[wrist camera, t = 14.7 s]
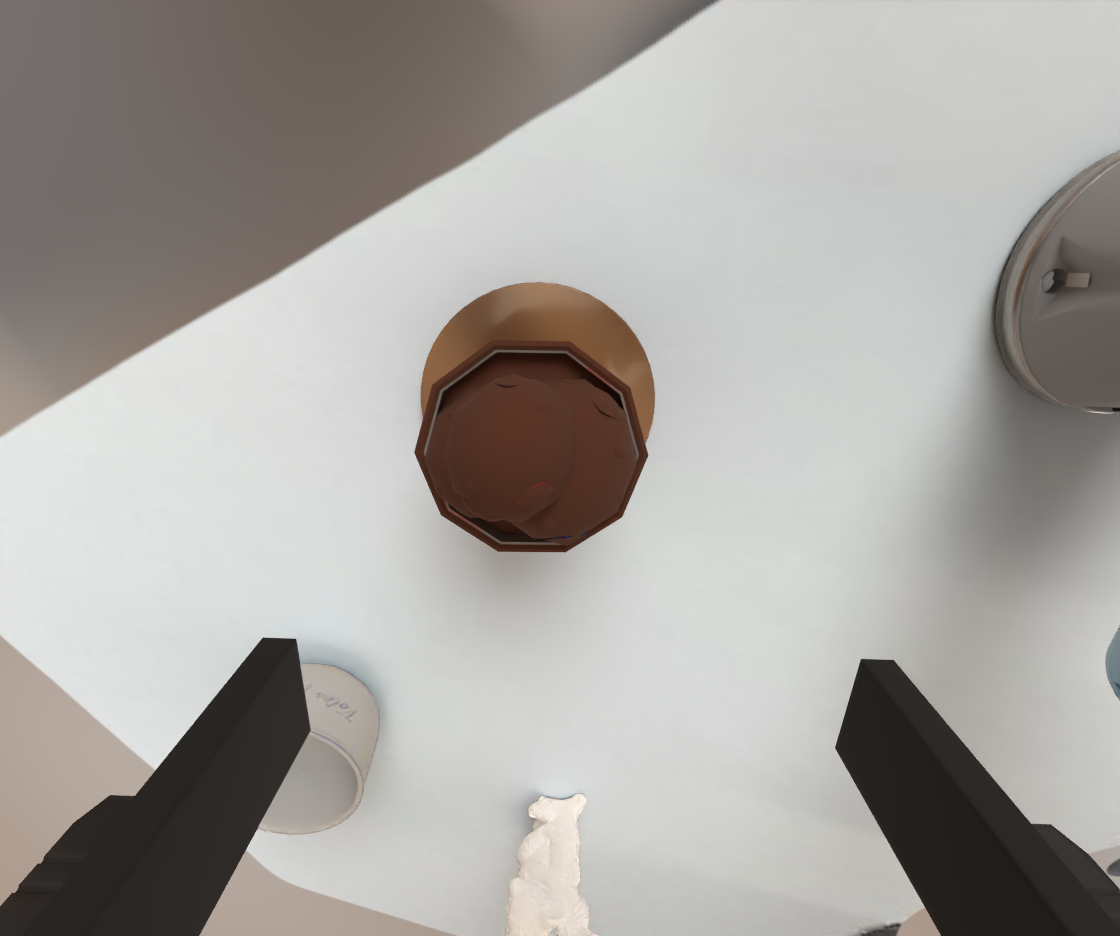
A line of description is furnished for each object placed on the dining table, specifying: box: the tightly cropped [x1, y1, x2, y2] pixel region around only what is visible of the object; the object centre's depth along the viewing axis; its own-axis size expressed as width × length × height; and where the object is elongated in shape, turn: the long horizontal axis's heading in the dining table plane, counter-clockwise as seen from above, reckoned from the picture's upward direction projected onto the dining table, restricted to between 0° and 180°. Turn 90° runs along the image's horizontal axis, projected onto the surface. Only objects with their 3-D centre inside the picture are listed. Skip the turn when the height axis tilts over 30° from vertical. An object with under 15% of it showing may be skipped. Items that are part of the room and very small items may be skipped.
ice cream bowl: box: [414, 340, 648, 552], centre depth 27 cm, size 11×11×15 cm
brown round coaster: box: [421, 282, 655, 443], centre depth 35 cm, size 15×15×1 cm
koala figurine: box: [505, 794, 598, 936], centre depth 43 cm, size 8×7×12 cm
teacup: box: [257, 663, 380, 834], centre depth 40 cm, size 14×11×8 cm
